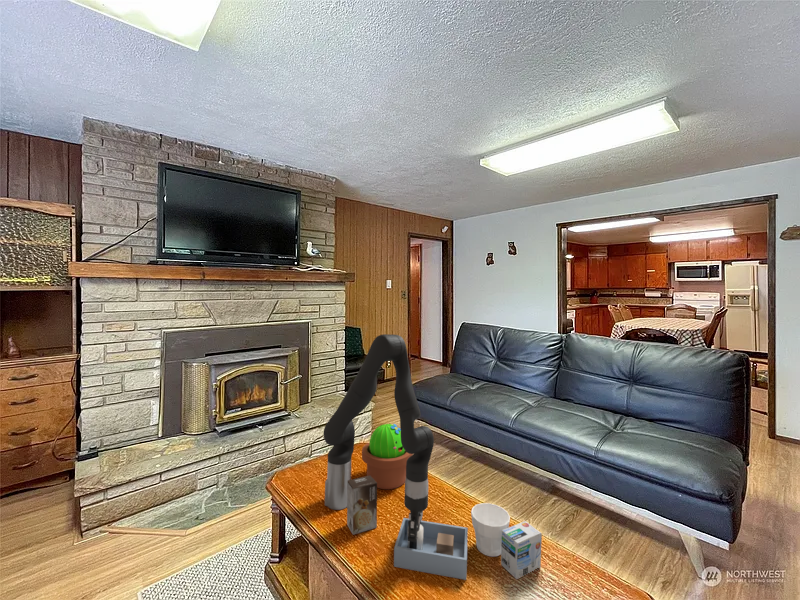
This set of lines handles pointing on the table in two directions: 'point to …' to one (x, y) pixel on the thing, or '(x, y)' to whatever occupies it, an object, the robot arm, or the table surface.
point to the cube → (445, 544)
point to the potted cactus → (386, 457)
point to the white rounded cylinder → (419, 539)
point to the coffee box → (361, 504)
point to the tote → (433, 551)
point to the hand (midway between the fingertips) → (415, 540)
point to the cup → (489, 527)
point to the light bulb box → (521, 549)
